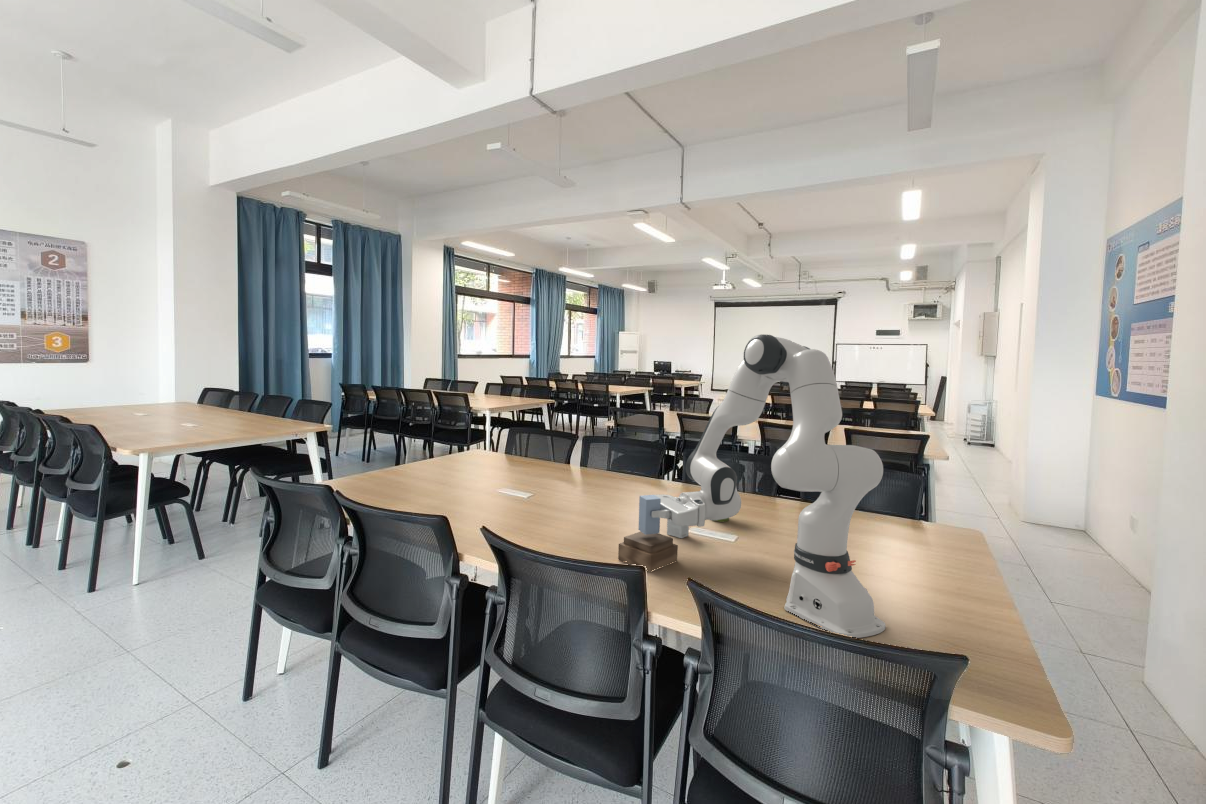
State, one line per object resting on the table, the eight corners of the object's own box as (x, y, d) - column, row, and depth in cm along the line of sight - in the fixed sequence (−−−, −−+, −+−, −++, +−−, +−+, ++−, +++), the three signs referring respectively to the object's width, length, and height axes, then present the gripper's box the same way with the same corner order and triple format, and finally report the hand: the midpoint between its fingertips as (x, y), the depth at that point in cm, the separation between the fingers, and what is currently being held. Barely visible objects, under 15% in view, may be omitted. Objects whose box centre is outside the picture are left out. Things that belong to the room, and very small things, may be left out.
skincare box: (688, 535, 179) (690, 500, 178) (681, 538, 176) (682, 502, 175) (673, 531, 183) (675, 496, 182) (666, 534, 180) (667, 498, 179)
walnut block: (677, 561, 157) (678, 538, 156) (650, 573, 148) (651, 548, 148) (645, 550, 165) (645, 528, 165) (618, 560, 157) (618, 536, 156)
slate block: (659, 533, 155) (660, 498, 154) (645, 534, 153) (646, 499, 152) (652, 528, 159) (653, 494, 158) (638, 529, 157) (639, 495, 157)
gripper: (672, 488, 170) (632, 491, 165) (708, 506, 151) (663, 510, 146) (672, 508, 170) (631, 511, 165) (707, 528, 151) (662, 533, 146)
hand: (646, 511), depth 155 cm, fingers closed on slate block, 4 cm apart
